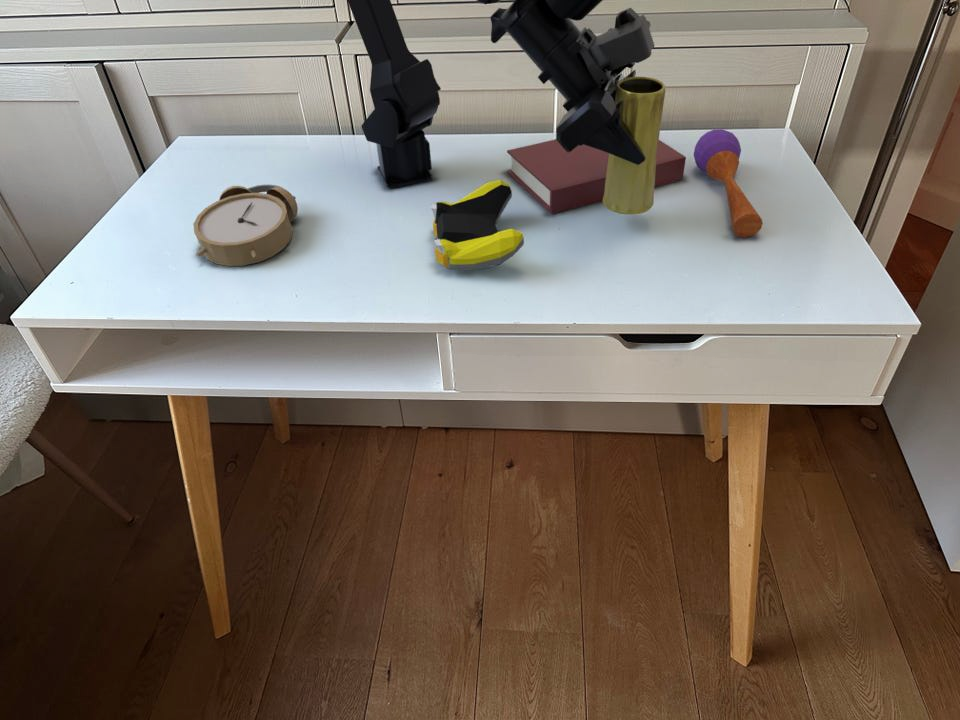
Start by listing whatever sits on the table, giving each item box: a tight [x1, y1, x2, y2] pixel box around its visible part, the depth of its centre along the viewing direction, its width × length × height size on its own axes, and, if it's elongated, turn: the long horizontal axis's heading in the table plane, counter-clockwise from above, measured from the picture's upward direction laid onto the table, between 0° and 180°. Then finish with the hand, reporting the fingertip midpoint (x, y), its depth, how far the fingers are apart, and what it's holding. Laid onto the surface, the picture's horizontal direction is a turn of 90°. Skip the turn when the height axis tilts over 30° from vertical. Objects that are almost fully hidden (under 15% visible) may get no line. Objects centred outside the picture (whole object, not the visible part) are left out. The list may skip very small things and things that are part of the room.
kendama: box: [693, 128, 764, 239], centre depth 91 cm, size 6×6×20 cm
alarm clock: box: [192, 184, 299, 267], centre depth 90 cm, size 11×5×15 cm
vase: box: [601, 76, 666, 216], centre depth 83 cm, size 6×6×14 cm
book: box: [506, 138, 687, 215], centre depth 98 cm, size 20×13×3 cm, turn 113°
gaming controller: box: [430, 179, 525, 271], centre depth 85 cm, size 15×6×10 cm
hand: (645, 151), depth 82 cm, fingers closed on vase, 5 cm apart
